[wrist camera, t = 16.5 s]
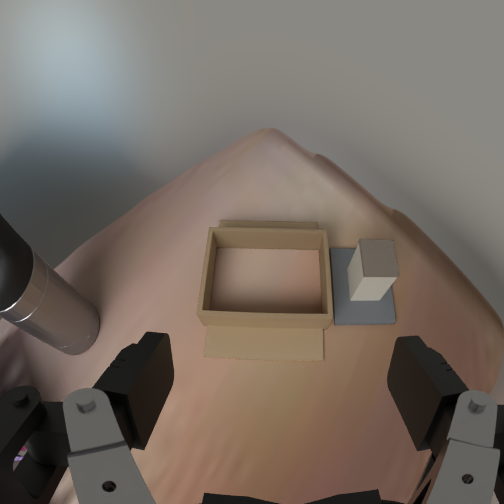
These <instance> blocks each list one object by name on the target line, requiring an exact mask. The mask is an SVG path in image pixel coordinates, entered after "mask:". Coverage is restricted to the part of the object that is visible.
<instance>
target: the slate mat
mask: <svg viewBox="0 0 504 504" xmlns="http://www.w3.org/2000/svg"><path fill="white" fill-rule="evenodd" d="M355 250H356V249H341V248H330V261H331V274H332V289H333V306H334V325H374V324H395V323H396V319H395V311H394V303H393V296H392V289H391V286H390V287H389V289H388V290H387V291H386V293H385V294H384V295H383V297H382V298H381V299H380V300H377V301H350V295H349V283H348V273H347V269H348V266H349V264H350V262H351V259H352V257H353V255H354V253H355Z"/></svg>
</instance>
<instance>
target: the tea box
mask: <svg viewBox="0 0 504 504" xmlns="http://www.w3.org/2000/svg"><path fill="white" fill-rule="evenodd" d="M347 273H348V283H349V295H350V301H377V300H380V299H381V298H382V297H383V295H384V294H385V293H386V291H387V290H388V289H389V287H390V286H391V285H392V283H393V282H394V281H395V279H396V278H397V277H398V276H399V270H398V265H397V259H396V254H395V249H394V244H393V240H380V239H360V240H359V243H358V246H357V248H356V250H355V253H354V255H353V257H352V259H351V262H350V264H349V266H348V269H347Z"/></svg>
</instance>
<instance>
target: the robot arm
mask: <svg viewBox="0 0 504 504" xmlns="http://www.w3.org/2000/svg"><path fill="white" fill-rule="evenodd" d="M0 316H1V317H2V318H4V319H5V320H7V321H9V322H10V323H12V324H14V325H15V326H17V327H19V328H20V329H22V330H24V331H25V332H27V333H29V334H31V335H32V336H34V337H36V338H38V339H39V340H41V341H43V342H45V343H47V344H49V345H50V346H52V347H54V348H56V349H58V350H60V351H62V352H64V353H66V354H69V355H77V354H81V353H83V352H84V351H86V350H87V349H88V348H90V347H91V345H92V344H93V343H94V341H95V339H96V337H97V334H98V331H99V316H98V313H97V311H96V309H95V308H94V306H93V305H92V304H91V303H90V302H88V301H87V300H86V299H85V298H84V297H83V296H82V295H81V294H79V293H78V292H77V291H76V290H75V289H74V288H73V287H72V286H71V285H69V284H68V283H67V282H66V281H65V280H64V279H63V278H62V277H61V276H60V275H59V274H58V273H57V272H55V271H54V270H53V269H52V268H51V267H50V266H49V265H48V264H47V263H46V262H45V261H44V260H43V259H42V258H41V257H40V256H39V255H38V254H37V253H36V252H35V251H34V250H33V249H32V248H31V247H30V246H29V245H28V244H27V243H26V242H25V241H24V240H23V239H22V238H21V237H20V235H19V234H18V233H16V231H15V230H14V229H13V228H12V227H11V226H10V225H9V223H8V222H7V221H6V220H5V219H4V218H3V217H2V215H1V214H0ZM173 381H174V367H173V360H172V352H171V344H170V338H169V335H168V334H167V333H157V332H146V333H145V334H144V336H143V337H142V338H141V340H140V341H139V342H138V344H133V343H132V344H131V345H129V346H127V347H126V348H124V349H122V350H121V351H120V353H119V354H118V355H117V356H116V358H115V360H113V362H112V363H111V364H110V367H108V368H107V369H106V370H105V372H104V373H103V374H102V376H101V377H100V378H99V380H98V381H97V382H96V383H95V385H94V386H93V387H92V388H84V389H79V390H76V391H74V392H72V393H71V394H69V395H68V396H67V397H66V398H65V400H64V402H47V401H43V400H42V398H41V396H40V393H39V392H38V390H37V389H35V388H33V387H30V386H20V387H16V388H13V389H11V390H10V391H8V392H7V393H6V394H5V395H4V396H3V397H2V398H1V399H0V504H49V502H50V500H51V498H52V496H53V494H54V492H55V490H56V488H57V486H58V484H59V482H60V481H61V479H62V477H63V475H64V473H65V471H66V469H67V467H69V468H70V472H71V476H72V480H73V484H74V487H75V491H76V495H77V498H78V501H79V504H156V502H155V500H154V499H153V497H152V495H151V493H150V491H149V489H148V487H147V485H146V483H145V481H144V479H143V477H142V475H141V473H140V471H139V469H138V467H137V465H136V463H135V461H134V459H133V456H132V454H131V452H130V451H131V449H132V448H136V449H140V450H144V449H145V447H146V445H147V442H148V440H149V438H150V436H151V433H152V431H153V429H154V426H155V424H156V422H157V420H158V417H159V415H160V413H161V411H162V408H163V406H164V404H165V402H166V399H167V397H168V395H169V393H170V390H171V388H172V385H173ZM387 383H388V388H389V391H390V393H391V395H392V397H393V399H394V401H395V403H396V405H397V408H398V410H399V412H400V414H401V416H402V418H403V420H404V423H405V425H406V427H407V429H408V431H409V434H410V436H411V438H412V440H413V443H414V445H415V447H416V449H417V451H422V450H426V449H431V451H432V453H431V455H430V457H429V459H428V461H427V463H426V466H425V468H424V471H423V473H422V475H421V477H420V480H419V482H418V484H417V486H416V488H415V490H414V492H413V495H412V497H411V498H410V500H409V502H408V504H491V500H492V496H493V491H494V492H495V494H496V497H497V499H498V501H499V504H504V405H497V403H496V401H495V400H494V399H493V398H492V397H491V396H490V395H489V394H487V393H485V392H482V391H478V390H469V389H468V388H467V386H466V385H465V384H464V383H463V381H462V380H461V379H460V377H459V376H458V375H457V374H456V372H455V371H454V370H452V367H451V366H450V365H449V364H447V361H446V360H445V359H444V358H443V356H442V355H441V354H440V353H438V352H436V351H435V350H433V349H432V348H428V347H427V346H426V344H425V343H424V342H423V341H422V339H421V338H420V337H419V336H405V337H398V338H397V340H396V342H395V346H394V350H393V355H392V359H391V363H390V367H389V371H388V376H387ZM23 446H25V448H26V449H27V452H26V453H25V455H24V456H23V458H22V459H21V461H20V463H19V464H18V466H17V467H16V469H15V470H14V472H13V462H14V459H15V458H16V456H17V455H18V453H19V452H20V450H21V449H22V448H23ZM201 504H279V503H274V502H269V501H264V500H260V499H256V498H251V497H246V496H231V495H220V494H210V493H204V496H203V501H202V503H201ZM306 504H404V503H400V502H395V501H389V500H381V498H380V495H379V491H378V489H377V490H370V491H364V492H356V493H348V494H339V495H335V496H332V497H328V498H325V499H321V500H317V501H314V502H310V503H306Z"/></svg>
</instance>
